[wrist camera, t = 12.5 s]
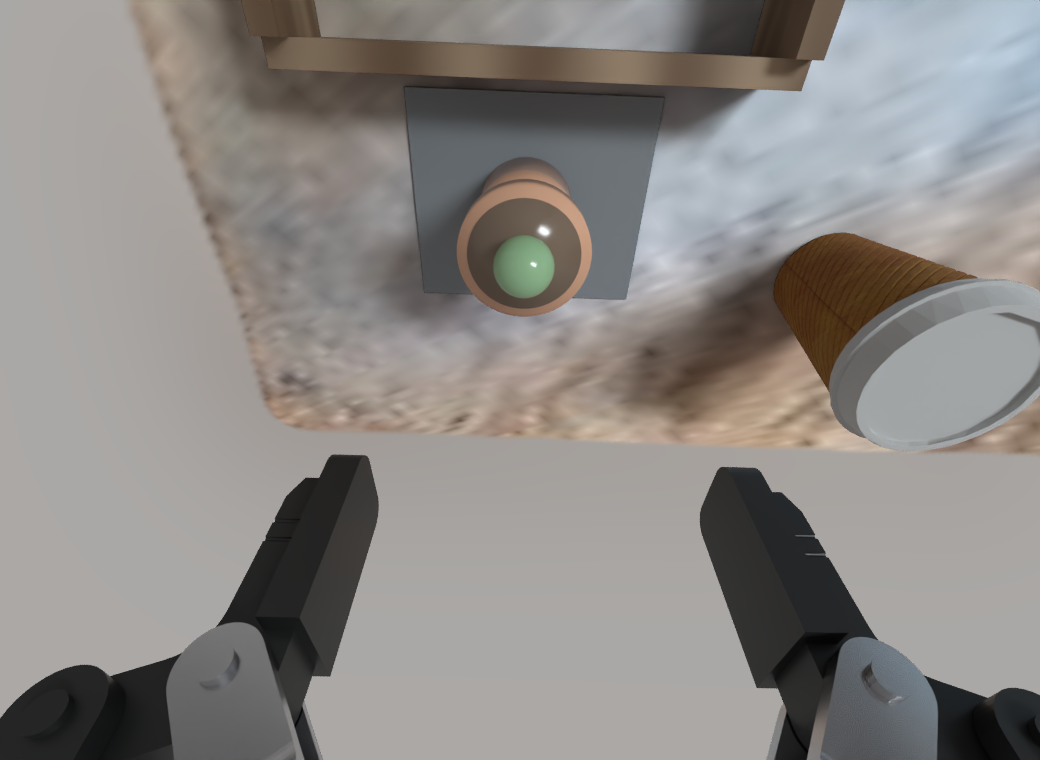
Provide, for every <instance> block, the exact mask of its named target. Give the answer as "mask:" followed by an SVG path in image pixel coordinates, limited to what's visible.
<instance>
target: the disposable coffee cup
mask: <svg viewBox="0 0 1040 760" xmlns="http://www.w3.org/2000/svg"><path fill="white" fill-rule="evenodd" d="M774 299H775V302H776V304H777V306H778V308H779V310H780V311H781V313H782V314H783V316H784V318H785V319H786V321H787V323H788V324H789V326H790V328H791V329H792V331H793V333H794V334H795V336H796V338H797V339H798V341H799V343H800V344H801V346H802V348H803V349H804V351H805V353H806V354H807V356H808V358H809V359H810V361H811V363H812V364H813V366H814V368H815V369H816V371H817V373H818V374H819V376H820V378H821V379H822V381H823V382H824V384H825V386H826V387H827V389H828V391H829V392H830V399H831V407H832V409H833V412H834V414H835V416H836V418H837V420H838V421H839V423H840V424H841V425H842V426H843V427H844V428H846V429H847V430H848V431H850V432H852V433H854V434H856V435H858V436H860V437H864V438H867V439H868V440H870V441H871V442H873V443H875V444H877V445H879V446H881V447H883V448H887V449H892V450H897V451H922V450H931V449H937V448H942V447H947V446H950V445H954V444H957V443H960V442H963V441H966V440H968V439H971V438H974V437H976V436H979V435H981V434H983V433H985V432H987V431H989V430H991V429H993V428H995V427H997V426H999V425H1001V424H1003V423H1005V422H1006V421H1007V420H1009V419H1010V418H1012V417H1013V416H1015V415H1016V414H1018V413H1019V412H1021V411H1022V410H1024V409H1025V408H1027V407H1028V406H1029V405H1030V404H1031V403H1032V402H1033V401H1034V400H1035V399H1036V398H1037V397H1038V396H1039V395H1040V291H1038V290H1037V289H1035V288H1032V287H1030V286H1028V285H1025V284H1023V283H1020V282H1015V281H1010V280H1005V279H982V278H977V277H975V276H973V275H967V274H966V273H963V272H960V271H956V270H955V269H952V268H949V267H945V266H943V265H940V264H936V263H934V262H932V261H928V260H925V259H923V258H920V257H917V256H914V255H911V254H908V253H906V252H903V251H899V250H897V249H894V248H891V247H888V246H885V245H883V244H880V243H876V242H874V241H871V240H868V239H865V238H862V237H860V236H857V235H855V234H850V233H833V234H829V235H825V236H822V237H819V238H817V239H814V240H813V241H811V242H809V243H808V244H806V245H804V246H802V247H801V248H800V249H799V250H797V251H796V252H795V253H794V254H793V255H792V256H791V257H790V258H789V259H788V260H787V261H786V263H785V264H784V265H783V267H782V268H781V270H780V272H779V274H778V276H777V278H776V281H775V285H774Z"/></svg>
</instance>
